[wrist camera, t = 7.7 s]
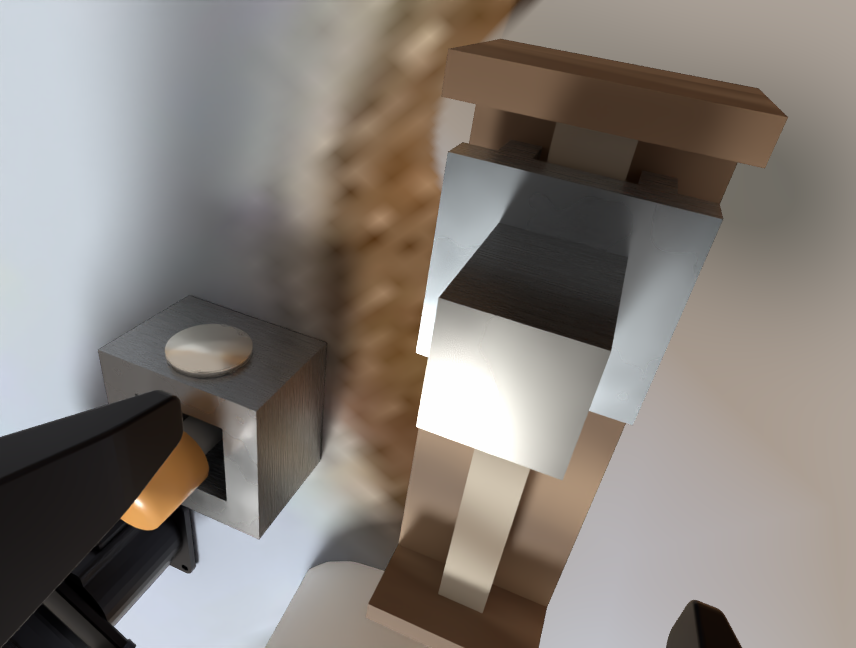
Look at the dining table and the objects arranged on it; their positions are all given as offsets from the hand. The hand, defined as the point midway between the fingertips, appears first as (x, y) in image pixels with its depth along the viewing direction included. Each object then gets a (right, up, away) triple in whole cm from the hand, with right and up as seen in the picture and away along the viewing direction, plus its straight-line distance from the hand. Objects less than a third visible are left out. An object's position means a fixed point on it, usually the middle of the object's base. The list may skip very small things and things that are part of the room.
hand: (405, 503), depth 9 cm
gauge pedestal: (-8, 0, +17) cm, 19 cm away
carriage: (+4, +5, +7) cm, 10 cm away
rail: (+4, +1, +12) cm, 13 cm away
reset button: (-9, -1, +15) cm, 17 cm away
